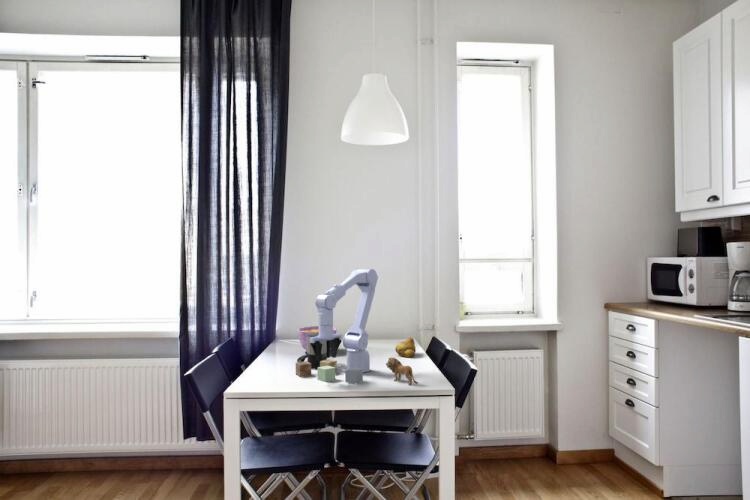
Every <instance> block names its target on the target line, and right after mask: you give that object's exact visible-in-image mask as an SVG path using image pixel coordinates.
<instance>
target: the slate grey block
mask: <svg viewBox="0 0 750 500" xmlns="http://www.w3.org/2000/svg"><path fill="white" fill-rule="evenodd" d="M344 370H345V373H344V374H345V378H344V379H345V383H346V382H348V384H354V383H357V384H359V383H362V382H363V379H364V377H363V376H364V372H363V368H354V367H351V368H349V369H347V368H346V369H344ZM361 381H362V382H361Z"/></svg>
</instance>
